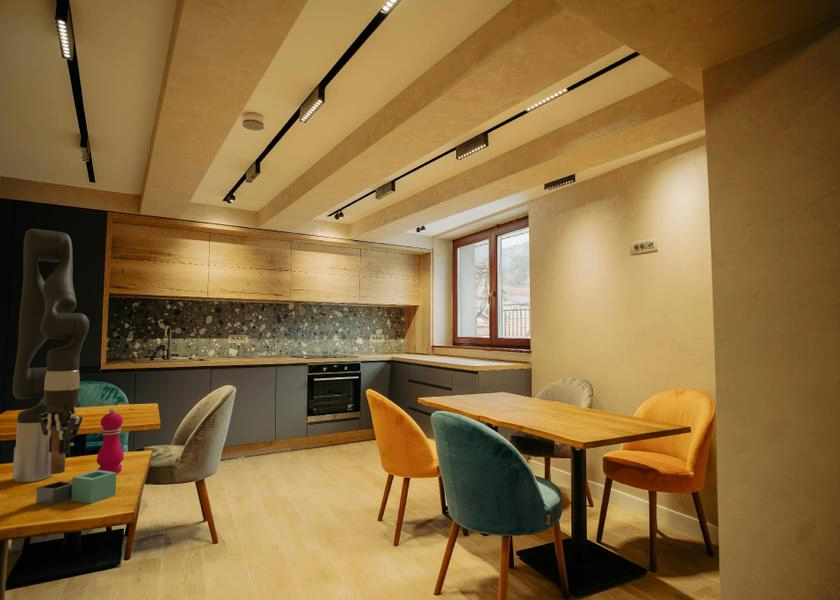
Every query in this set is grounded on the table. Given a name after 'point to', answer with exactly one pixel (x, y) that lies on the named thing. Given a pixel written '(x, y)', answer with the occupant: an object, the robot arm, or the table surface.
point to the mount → (54, 493)
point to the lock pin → (56, 453)
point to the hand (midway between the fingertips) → (58, 452)
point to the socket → (93, 486)
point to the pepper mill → (111, 443)
